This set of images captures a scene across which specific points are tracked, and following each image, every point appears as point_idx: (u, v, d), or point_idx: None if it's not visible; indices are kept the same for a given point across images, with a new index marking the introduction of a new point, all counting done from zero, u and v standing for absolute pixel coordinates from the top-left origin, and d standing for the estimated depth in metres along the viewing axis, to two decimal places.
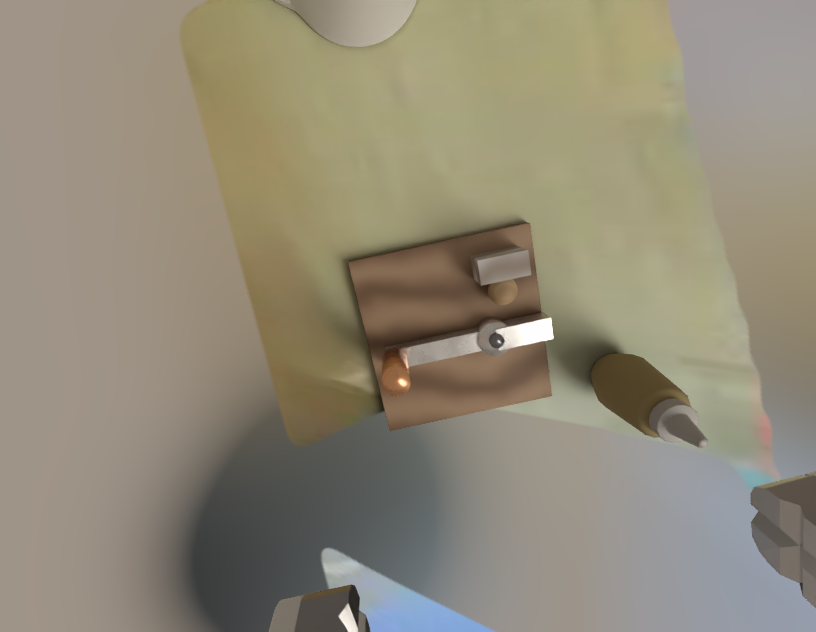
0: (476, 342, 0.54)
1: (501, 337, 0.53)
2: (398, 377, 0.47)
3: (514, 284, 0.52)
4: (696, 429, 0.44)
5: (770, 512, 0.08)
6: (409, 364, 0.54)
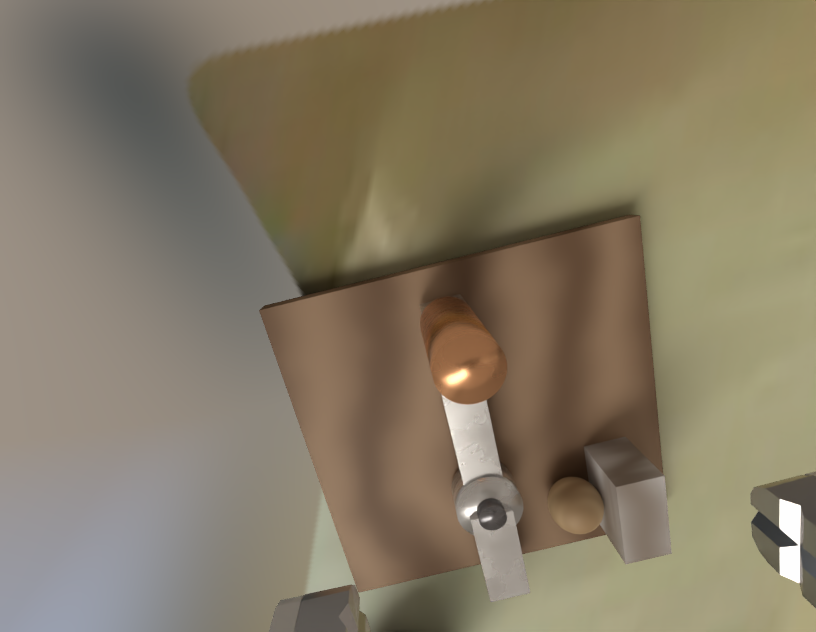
0: (481, 475, 0.28)
1: (500, 524, 0.27)
2: (485, 375, 0.18)
3: None
4: None
5: (770, 512, 0.08)
6: None
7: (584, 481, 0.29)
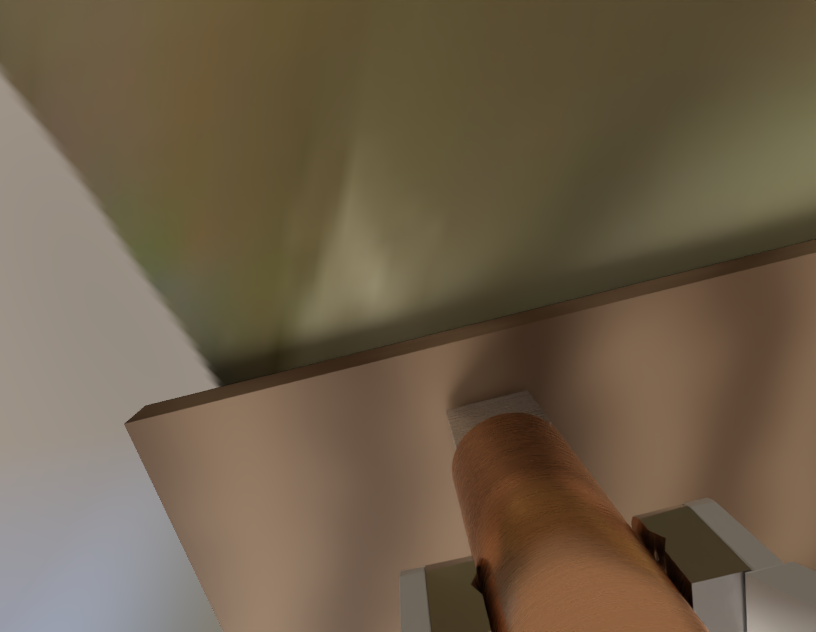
0: None
1: None
2: None
3: None
4: None
5: (645, 542, 0.08)
6: None
7: None
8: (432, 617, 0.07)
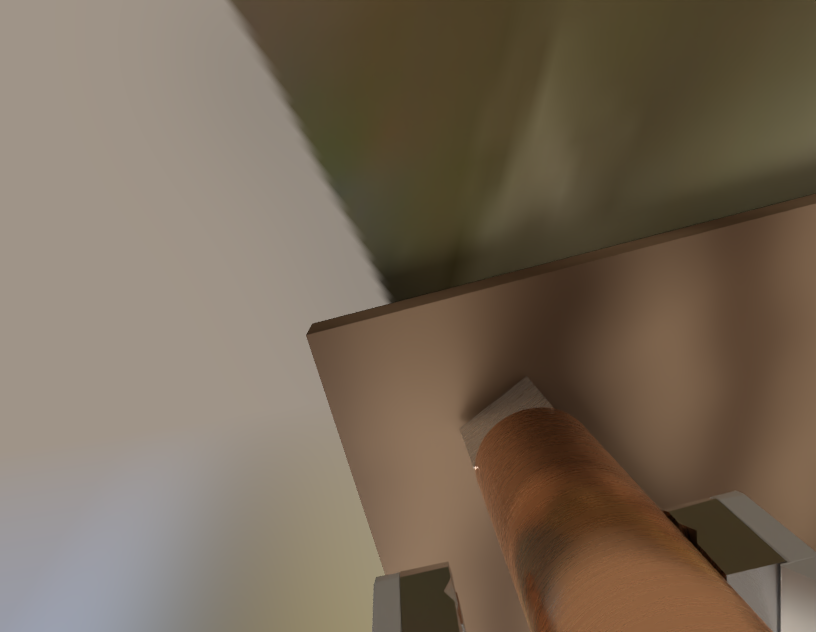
0: None
1: None
2: None
3: None
4: None
5: None
6: None
7: None
8: (403, 624, 0.07)
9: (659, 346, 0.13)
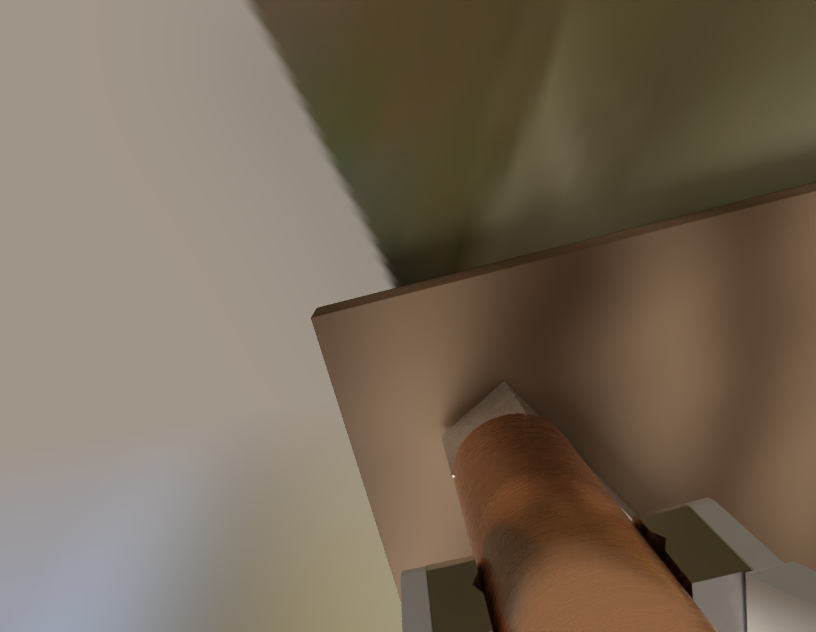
0: None
1: None
2: None
3: None
4: None
5: None
6: None
7: None
8: (434, 616, 0.07)
9: (666, 332, 0.13)
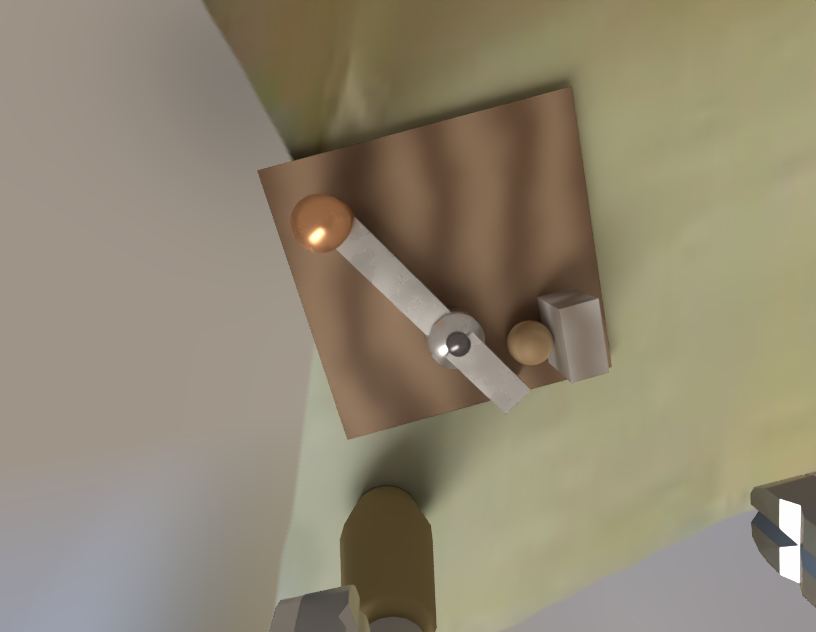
0: (434, 320, 0.33)
1: (468, 347, 0.32)
2: (332, 221, 0.24)
3: (545, 359, 0.34)
4: None
5: (770, 512, 0.08)
6: (340, 247, 0.31)
7: (536, 321, 0.34)
8: None
9: (403, 178, 0.32)
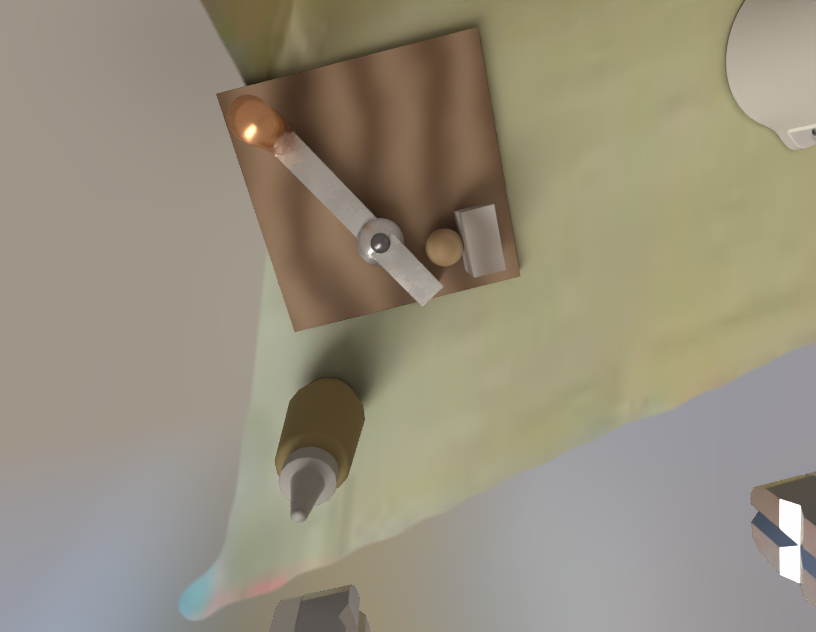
0: (362, 223, 0.39)
1: (387, 245, 0.39)
2: (259, 117, 0.30)
3: (455, 260, 0.40)
4: (313, 504, 0.32)
5: (770, 512, 0.08)
6: (281, 157, 0.38)
7: (450, 229, 0.41)
8: None
9: (337, 103, 0.39)
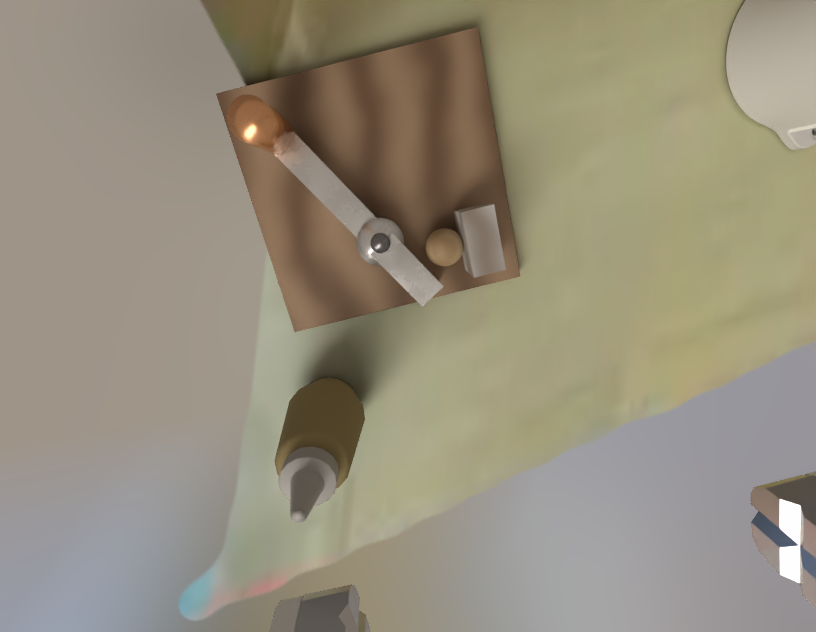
0: (362, 223, 0.39)
1: (387, 244, 0.39)
2: (259, 117, 0.30)
3: (455, 260, 0.40)
4: (312, 504, 0.32)
5: (770, 512, 0.08)
6: (281, 157, 0.38)
7: None
8: None
9: (337, 103, 0.39)
